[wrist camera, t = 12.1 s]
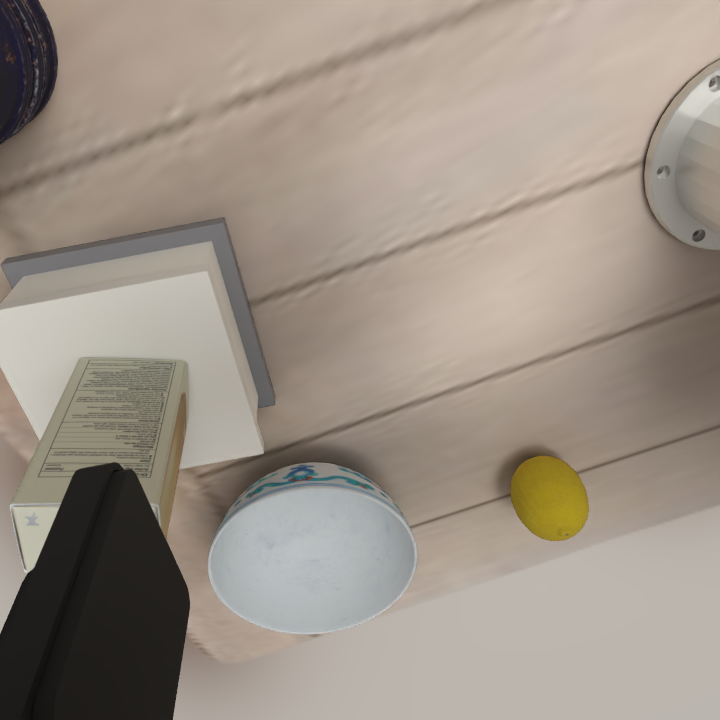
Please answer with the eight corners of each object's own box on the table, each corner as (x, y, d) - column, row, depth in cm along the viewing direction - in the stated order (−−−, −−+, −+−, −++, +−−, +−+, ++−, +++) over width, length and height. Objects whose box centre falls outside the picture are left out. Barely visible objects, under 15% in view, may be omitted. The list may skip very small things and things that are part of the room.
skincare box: (86, 415, 40) (14, 576, 30) (78, 354, 38) (-2, 504, 28) (194, 419, 41) (162, 577, 31) (193, 359, 39) (158, 507, 28)
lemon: (510, 496, 56) (540, 570, 50) (491, 451, 54) (520, 523, 47) (572, 473, 56) (611, 545, 49) (556, 426, 53) (595, 495, 46)
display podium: (224, 217, 42) (213, 260, 36) (275, 397, 49) (273, 458, 43) (6, 258, 42) (-41, 308, 36) (89, 431, 49) (61, 497, 43)
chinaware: (181, 463, 52) (165, 537, 45) (358, 390, 50) (368, 457, 43) (271, 579, 59) (269, 657, 53) (428, 520, 57) (446, 593, 51)
